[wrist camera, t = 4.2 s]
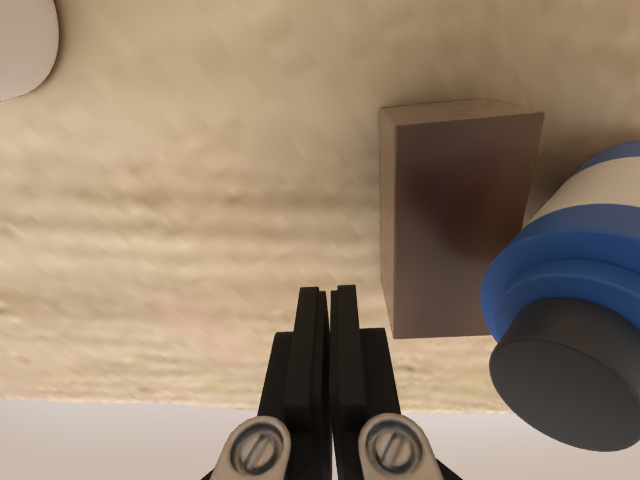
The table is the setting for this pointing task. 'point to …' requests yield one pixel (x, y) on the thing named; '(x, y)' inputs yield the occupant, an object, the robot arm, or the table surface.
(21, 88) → the pill bottle
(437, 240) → the block
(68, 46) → the table surface
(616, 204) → the bottle
